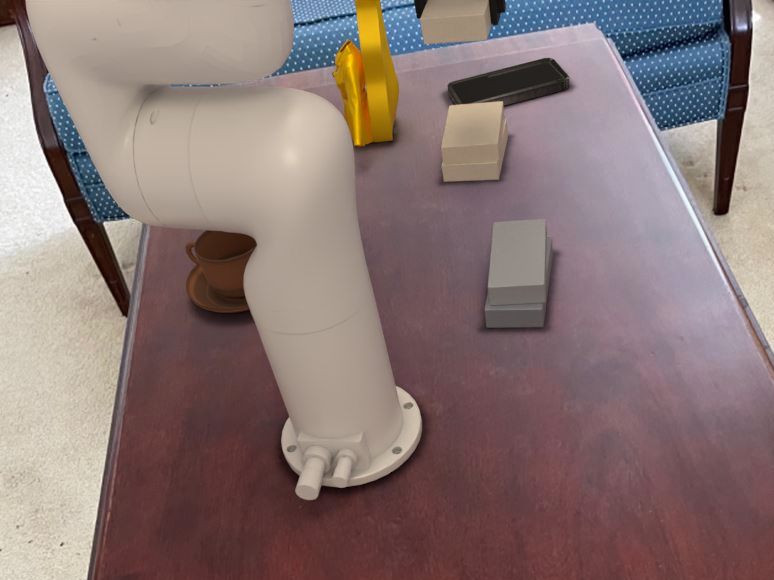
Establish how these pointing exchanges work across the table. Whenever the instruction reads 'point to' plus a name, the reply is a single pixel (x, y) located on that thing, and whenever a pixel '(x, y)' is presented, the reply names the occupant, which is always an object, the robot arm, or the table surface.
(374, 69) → the figure statuette
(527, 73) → the phone
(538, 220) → the grey stack
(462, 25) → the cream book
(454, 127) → the cream stack
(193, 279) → the cup and saucer
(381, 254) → the table surface
